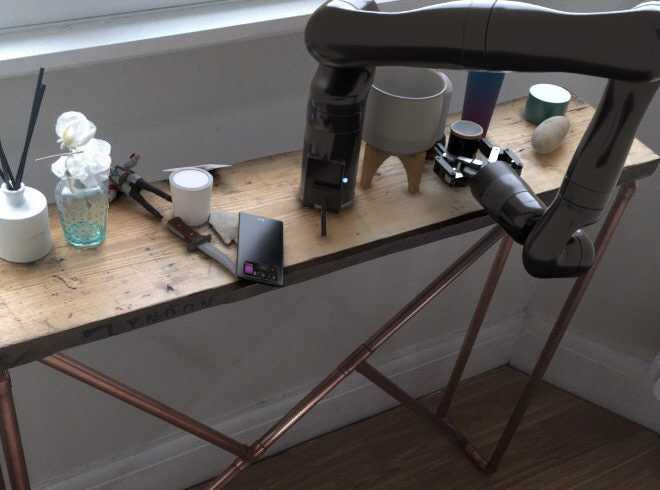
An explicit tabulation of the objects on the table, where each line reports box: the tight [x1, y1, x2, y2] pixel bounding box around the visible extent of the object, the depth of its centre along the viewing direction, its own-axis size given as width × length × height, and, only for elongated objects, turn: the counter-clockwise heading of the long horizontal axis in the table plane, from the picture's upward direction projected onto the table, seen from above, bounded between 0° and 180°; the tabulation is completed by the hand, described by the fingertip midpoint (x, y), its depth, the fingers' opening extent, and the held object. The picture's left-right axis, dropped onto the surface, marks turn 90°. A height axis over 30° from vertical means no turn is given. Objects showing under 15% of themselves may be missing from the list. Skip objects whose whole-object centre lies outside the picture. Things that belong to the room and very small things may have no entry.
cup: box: [460, 71, 506, 139], centre depth 163 cm, size 7×7×15 cm
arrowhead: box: [208, 209, 239, 245], centre depth 140 cm, size 7×2×10 cm
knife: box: [167, 216, 236, 277], centre depth 135 cm, size 17×1×5 cm
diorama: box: [161, 163, 233, 172], centre depth 151 cm, size 8×12×2 cm
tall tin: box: [440, 120, 483, 189], centre depth 152 cm, size 5×5×10 cm
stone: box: [530, 116, 571, 155], centre depth 165 cm, size 6×6×12 cm
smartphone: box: [235, 211, 285, 288], centre depth 135 cm, size 7×15×1 cm, turn 2°
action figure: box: [107, 152, 172, 221], centre depth 142 cm, size 9×7×15 cm
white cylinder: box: [168, 167, 214, 227], centre depth 140 cm, size 7×7×7 cm
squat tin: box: [522, 83, 572, 126], centre depth 174 cm, size 8×8×5 cm
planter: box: [359, 66, 447, 196], centre depth 149 cm, size 13×13×18 cm
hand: (458, 145), depth 153 cm, fingers open, 8 cm apart
